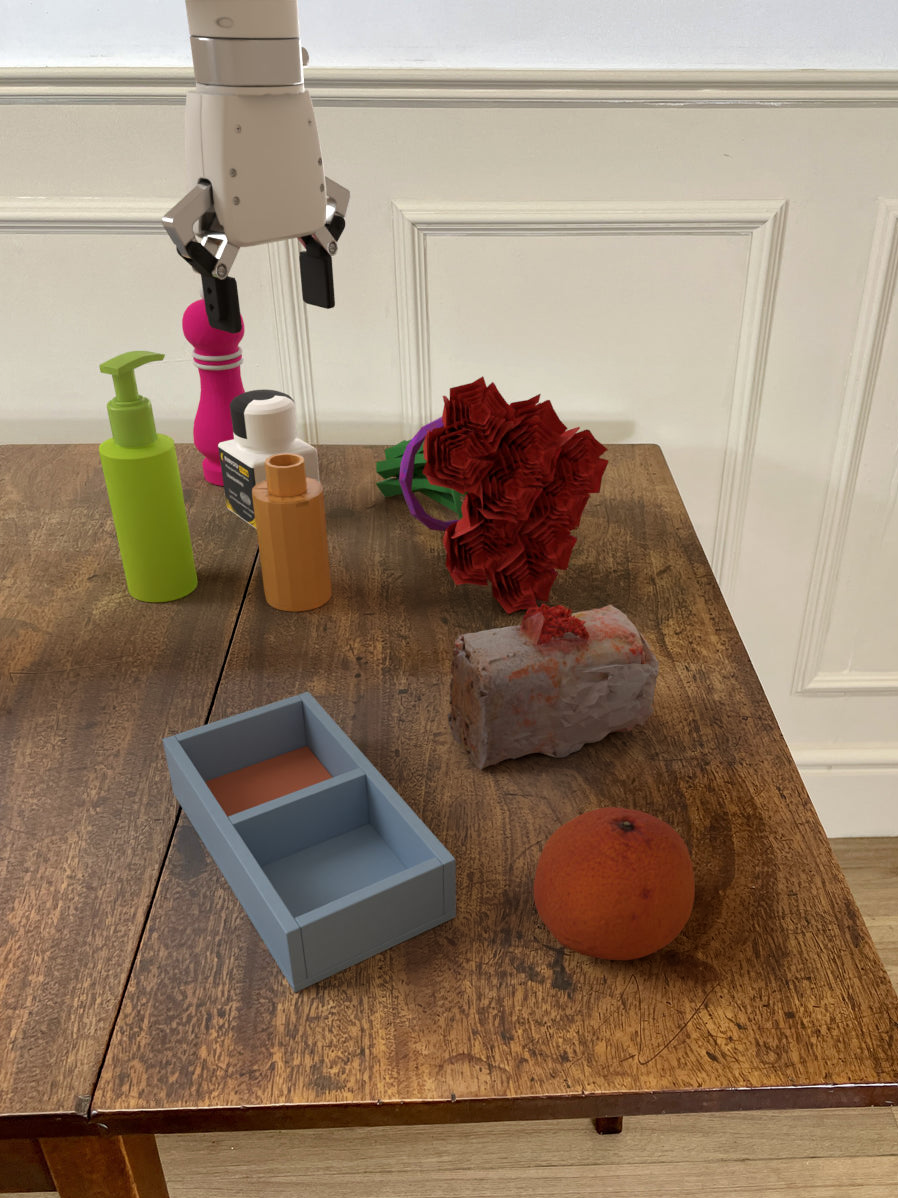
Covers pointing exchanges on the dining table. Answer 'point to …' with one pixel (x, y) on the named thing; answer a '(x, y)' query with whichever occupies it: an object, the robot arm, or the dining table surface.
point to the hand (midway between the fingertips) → (274, 317)
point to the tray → (310, 837)
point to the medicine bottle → (259, 446)
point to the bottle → (292, 535)
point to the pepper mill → (213, 384)
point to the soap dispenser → (145, 491)
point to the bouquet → (499, 488)
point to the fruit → (614, 884)
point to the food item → (549, 684)
